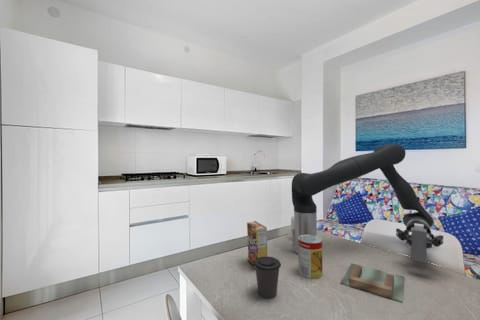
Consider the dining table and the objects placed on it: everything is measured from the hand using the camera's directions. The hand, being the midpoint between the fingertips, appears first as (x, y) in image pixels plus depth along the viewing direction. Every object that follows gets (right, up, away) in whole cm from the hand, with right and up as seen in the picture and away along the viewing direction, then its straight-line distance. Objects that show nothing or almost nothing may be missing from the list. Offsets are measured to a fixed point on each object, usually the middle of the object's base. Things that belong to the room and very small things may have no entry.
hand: (419, 243), depth 74 cm
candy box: (-52, -12, +11) cm, 54 cm away
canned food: (-34, -12, +5) cm, 36 cm away
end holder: (-15, -12, 0) cm, 19 cm away
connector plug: (+2, -6, +2) cm, 7 cm away
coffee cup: (-50, -12, -7) cm, 52 cm away
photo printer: (-28, -12, +38) cm, 49 cm away
